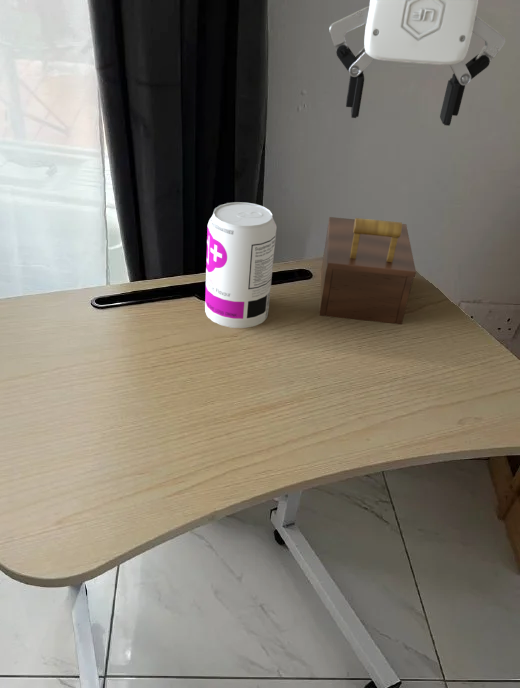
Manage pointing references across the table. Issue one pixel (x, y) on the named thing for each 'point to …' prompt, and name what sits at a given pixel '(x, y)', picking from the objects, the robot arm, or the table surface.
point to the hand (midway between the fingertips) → (399, 118)
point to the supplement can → (239, 264)
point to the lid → (369, 247)
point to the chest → (362, 294)
